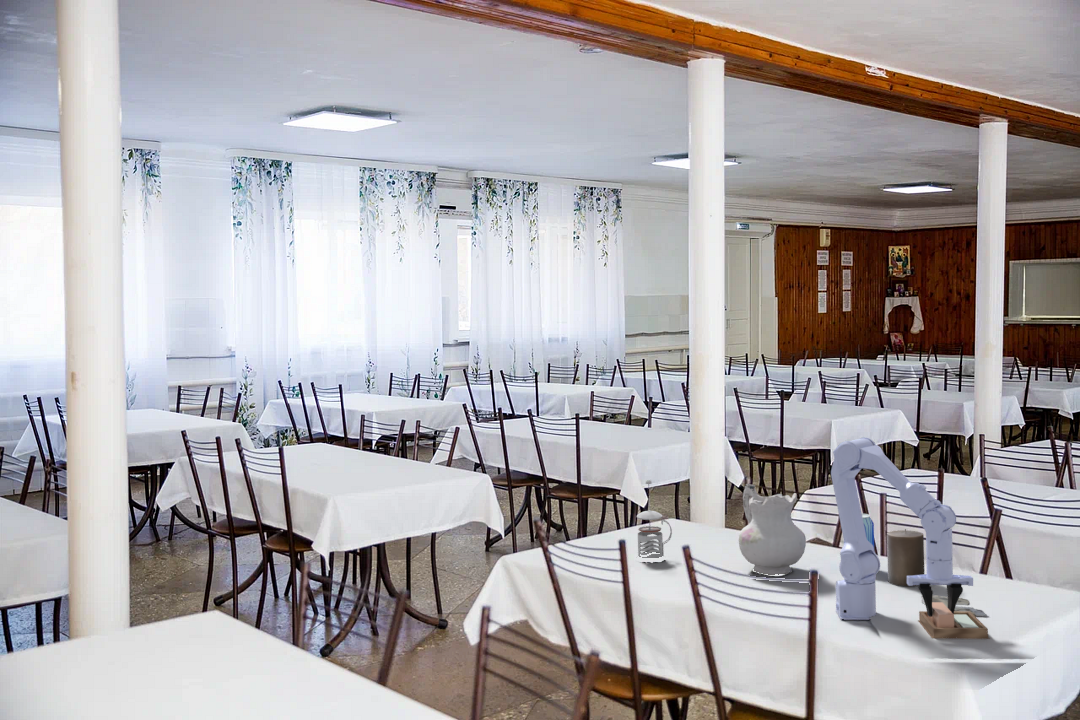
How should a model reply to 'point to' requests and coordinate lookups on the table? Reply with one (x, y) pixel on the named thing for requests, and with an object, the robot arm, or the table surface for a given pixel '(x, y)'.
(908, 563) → the pillar candle
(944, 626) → the clay bar
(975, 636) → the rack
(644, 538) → the french press
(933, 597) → the fossil rock
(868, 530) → the beer can
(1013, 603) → the table surface
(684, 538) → the table surface
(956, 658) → the table surface
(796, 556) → the ceramic pitcher
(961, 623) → the glazed tile
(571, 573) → the table surface
